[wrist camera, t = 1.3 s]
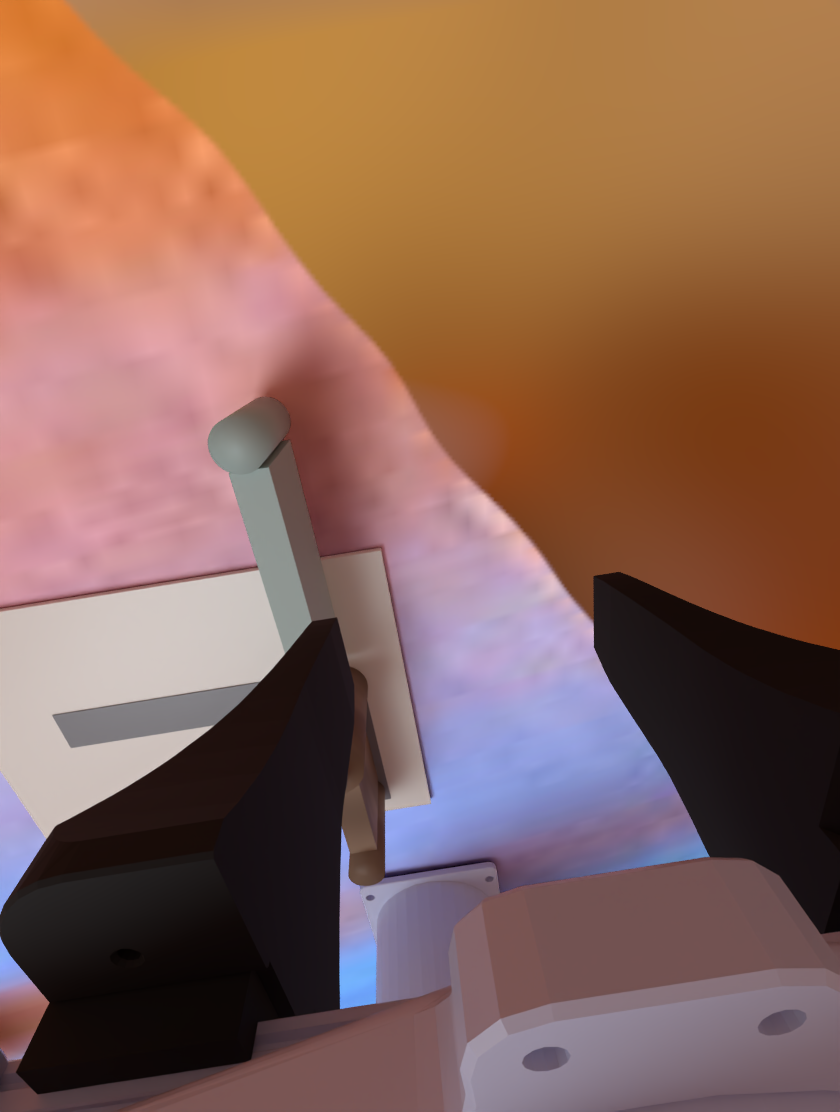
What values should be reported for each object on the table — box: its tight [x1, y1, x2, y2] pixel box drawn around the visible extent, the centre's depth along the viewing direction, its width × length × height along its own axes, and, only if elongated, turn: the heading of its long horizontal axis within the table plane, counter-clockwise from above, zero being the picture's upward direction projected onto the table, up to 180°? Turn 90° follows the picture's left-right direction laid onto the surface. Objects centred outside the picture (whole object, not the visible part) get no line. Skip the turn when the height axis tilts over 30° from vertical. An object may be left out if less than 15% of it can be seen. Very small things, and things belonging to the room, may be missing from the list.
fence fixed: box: [342, 667, 385, 886], centre depth 23 cm, size 9×2×6 cm, turn 8°
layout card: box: [0, 548, 431, 839], centre depth 25 cm, size 15×20×1 cm
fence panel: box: [208, 397, 335, 653], centre depth 19 cm, size 12×2×4 cm, turn 8°
